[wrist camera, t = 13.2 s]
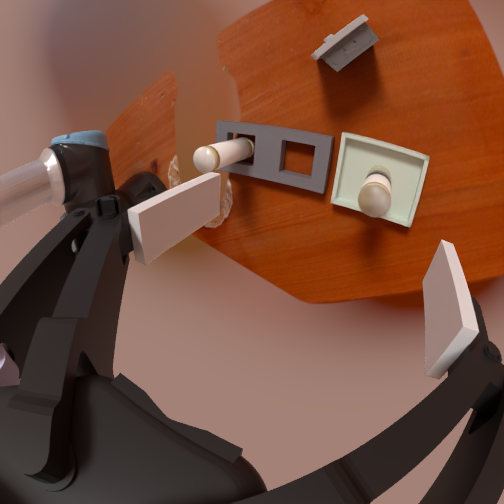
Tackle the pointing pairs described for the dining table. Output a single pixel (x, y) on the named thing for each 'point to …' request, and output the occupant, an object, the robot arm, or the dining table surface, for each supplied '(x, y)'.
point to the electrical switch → (346, 44)
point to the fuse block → (279, 154)
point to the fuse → (223, 154)
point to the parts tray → (389, 156)
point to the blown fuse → (376, 192)
